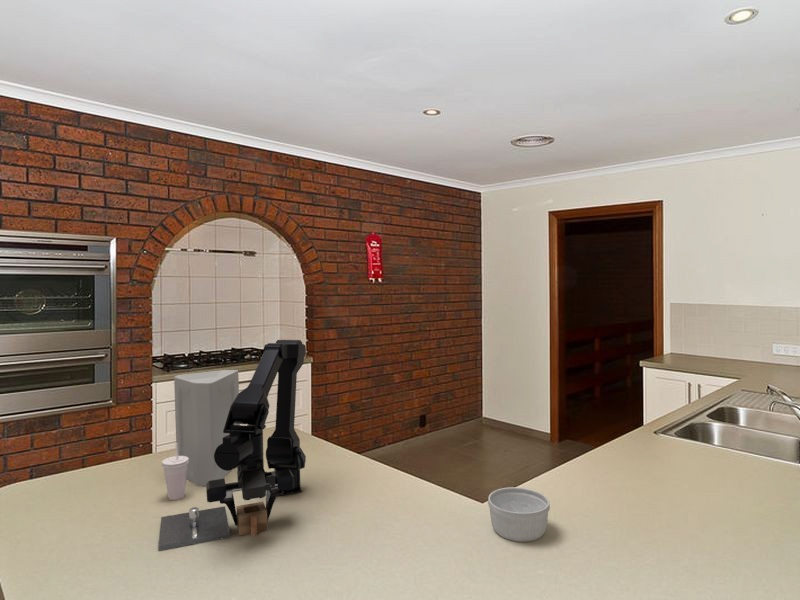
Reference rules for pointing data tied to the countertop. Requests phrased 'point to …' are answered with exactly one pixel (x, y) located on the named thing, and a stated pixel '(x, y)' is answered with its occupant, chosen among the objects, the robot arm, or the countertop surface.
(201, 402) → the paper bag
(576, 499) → the countertop surface
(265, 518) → the wooden cubby with handle
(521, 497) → the ramekin
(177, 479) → the smoothie
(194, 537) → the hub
